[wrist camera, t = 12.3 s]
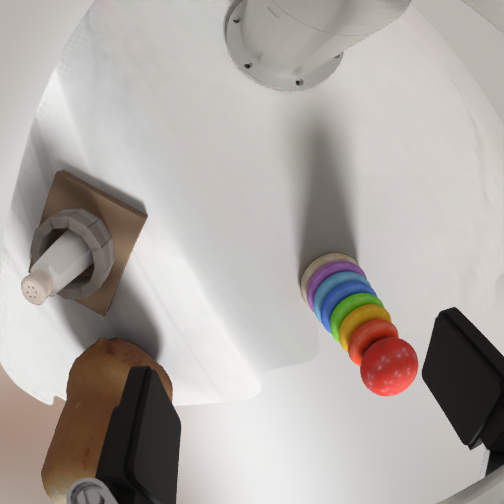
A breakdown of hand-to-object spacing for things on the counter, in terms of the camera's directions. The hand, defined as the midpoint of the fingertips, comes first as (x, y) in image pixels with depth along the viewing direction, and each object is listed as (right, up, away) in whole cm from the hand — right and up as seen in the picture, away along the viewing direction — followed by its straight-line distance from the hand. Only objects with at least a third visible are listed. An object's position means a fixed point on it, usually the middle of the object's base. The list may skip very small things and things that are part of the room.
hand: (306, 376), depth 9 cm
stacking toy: (+8, 0, +29) cm, 30 cm away
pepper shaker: (-22, +4, +23) cm, 32 cm away
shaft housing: (-22, +5, +24) cm, 33 cm away
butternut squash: (-19, -11, +31) cm, 38 cm away
